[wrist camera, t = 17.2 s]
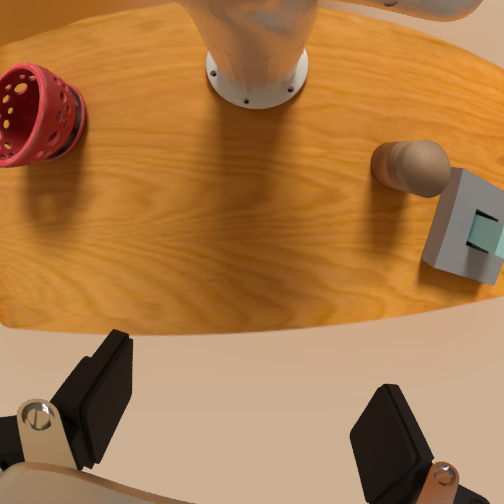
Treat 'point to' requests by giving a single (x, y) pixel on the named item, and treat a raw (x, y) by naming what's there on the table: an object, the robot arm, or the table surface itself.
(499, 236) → the square peg
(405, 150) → the round plug
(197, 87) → the table surface
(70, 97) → the plant pot
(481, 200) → the socket block
